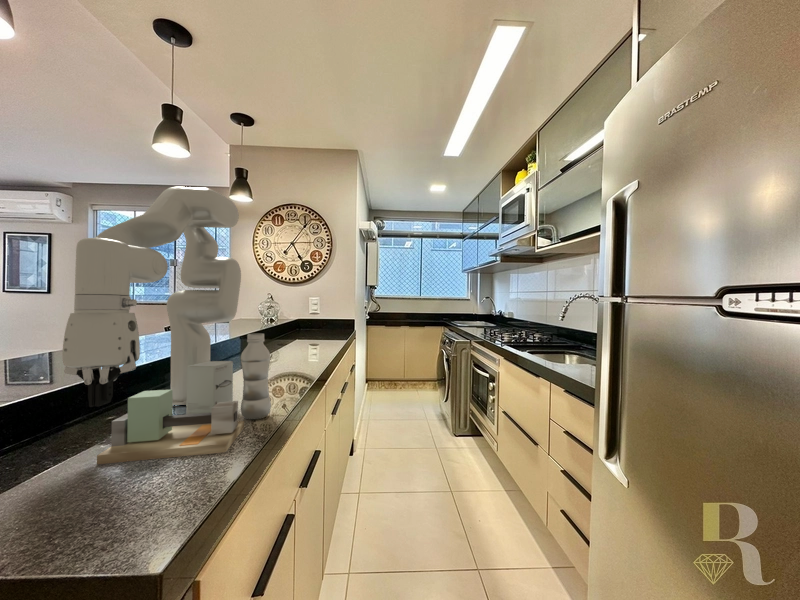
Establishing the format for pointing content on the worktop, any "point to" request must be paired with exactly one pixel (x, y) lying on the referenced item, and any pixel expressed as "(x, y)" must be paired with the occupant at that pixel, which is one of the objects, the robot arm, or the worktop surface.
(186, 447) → the cable board
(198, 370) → the supplement box
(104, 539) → the worktop surface
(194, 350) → the robot arm
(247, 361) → the plastic bottle
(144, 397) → the pale green block
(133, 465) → the worktop surface
